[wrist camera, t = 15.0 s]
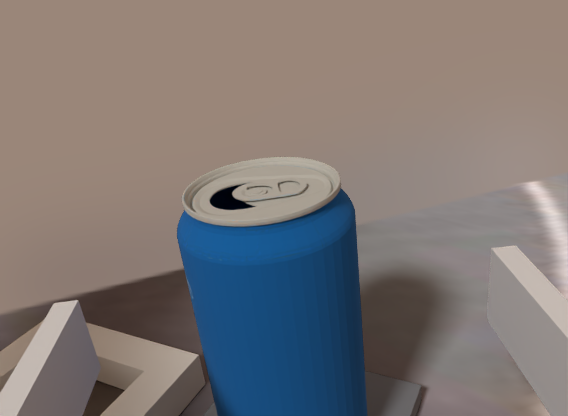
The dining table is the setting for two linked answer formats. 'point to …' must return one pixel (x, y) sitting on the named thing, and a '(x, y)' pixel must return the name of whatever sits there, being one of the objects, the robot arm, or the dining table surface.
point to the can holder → (131, 372)
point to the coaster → (382, 397)
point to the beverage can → (276, 288)
